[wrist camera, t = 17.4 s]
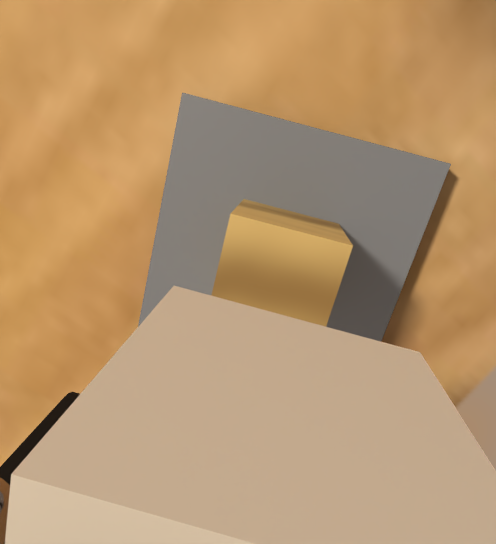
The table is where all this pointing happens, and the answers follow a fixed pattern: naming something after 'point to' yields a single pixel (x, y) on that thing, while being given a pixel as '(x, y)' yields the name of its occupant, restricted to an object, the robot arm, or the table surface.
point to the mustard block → (282, 262)
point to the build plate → (291, 203)
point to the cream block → (254, 441)
